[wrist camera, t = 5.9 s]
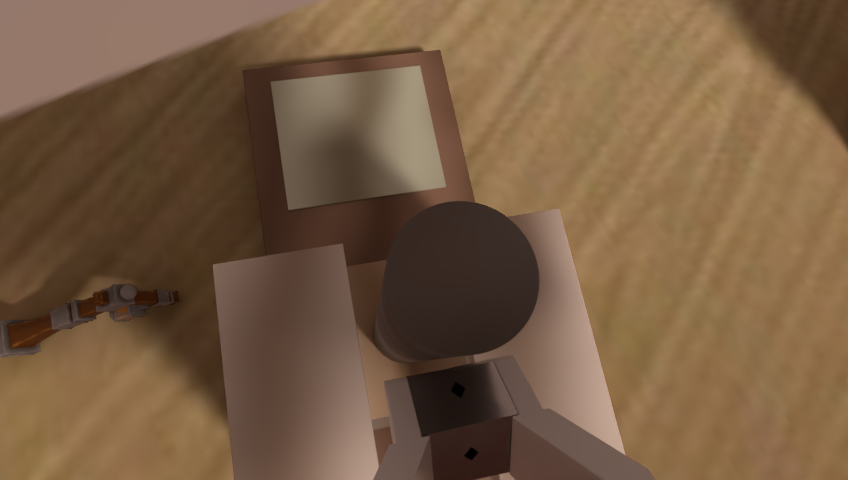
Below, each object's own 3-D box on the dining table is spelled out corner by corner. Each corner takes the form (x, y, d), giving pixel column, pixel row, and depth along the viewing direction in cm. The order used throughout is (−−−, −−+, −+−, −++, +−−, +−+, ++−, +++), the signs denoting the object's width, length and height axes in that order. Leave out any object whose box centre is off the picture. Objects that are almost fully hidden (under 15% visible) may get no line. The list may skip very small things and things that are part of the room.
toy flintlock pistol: (195, 308, 26) (121, 308, 22) (81, 350, 28) (-7, 358, 24) (188, 275, 27) (115, 269, 22) (77, 319, 29) (-11, 321, 24)
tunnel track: (436, 64, 33) (475, -103, 21) (555, 590, 26) (710, 772, 14) (248, 84, 31) (177, -87, 19) (321, 657, 24) (279, 930, 12)
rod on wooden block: (444, 255, 27) (602, 29, 9) (475, 404, 26) (750, 499, 7) (316, 277, 26) (201, 70, 8) (339, 434, 25) (260, 635, 6)
